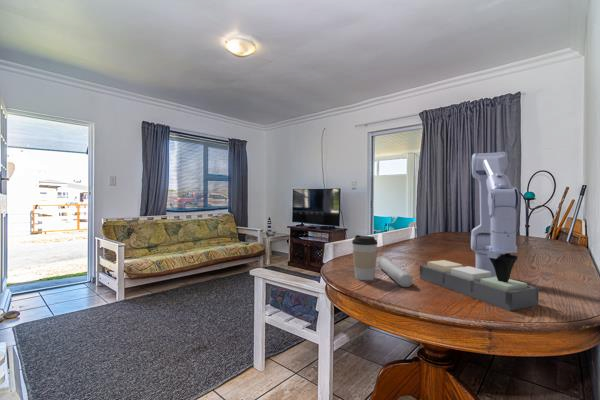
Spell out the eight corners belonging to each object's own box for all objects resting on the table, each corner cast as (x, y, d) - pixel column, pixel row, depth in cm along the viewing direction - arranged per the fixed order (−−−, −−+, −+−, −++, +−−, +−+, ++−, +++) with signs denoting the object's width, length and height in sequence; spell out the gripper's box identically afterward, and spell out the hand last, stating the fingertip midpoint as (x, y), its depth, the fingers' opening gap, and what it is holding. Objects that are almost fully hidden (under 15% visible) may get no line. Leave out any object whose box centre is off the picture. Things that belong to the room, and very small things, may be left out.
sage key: (499, 284, 84) (499, 276, 84) (527, 292, 77) (527, 283, 77) (480, 287, 82) (480, 278, 82) (507, 295, 75) (507, 286, 75)
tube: (417, 276, 91) (393, 259, 116) (401, 271, 91) (380, 254, 116) (412, 292, 91) (388, 271, 116) (396, 287, 91) (376, 267, 116)
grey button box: (444, 275, 105) (444, 263, 105) (538, 305, 76) (538, 287, 76) (419, 278, 102) (419, 265, 102) (509, 310, 73) (509, 292, 72)
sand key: (444, 266, 103) (444, 260, 103) (462, 271, 96) (462, 264, 96) (427, 268, 101) (427, 261, 101) (444, 273, 94) (444, 266, 94)
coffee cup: (382, 277, 104) (382, 235, 104) (369, 282, 97) (369, 238, 97) (360, 273, 110) (360, 233, 110) (347, 278, 103) (346, 236, 103)
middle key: (468, 273, 94) (468, 266, 94) (491, 279, 87) (491, 271, 87) (451, 275, 91) (451, 268, 91) (472, 282, 84) (472, 274, 84)
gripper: (497, 229, 87) (497, 274, 87) (475, 232, 78) (475, 282, 79) (525, 231, 81) (525, 279, 81) (505, 235, 73) (505, 288, 73)
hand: (503, 281), depth 79 cm, fingers closed, pressing on sage key
